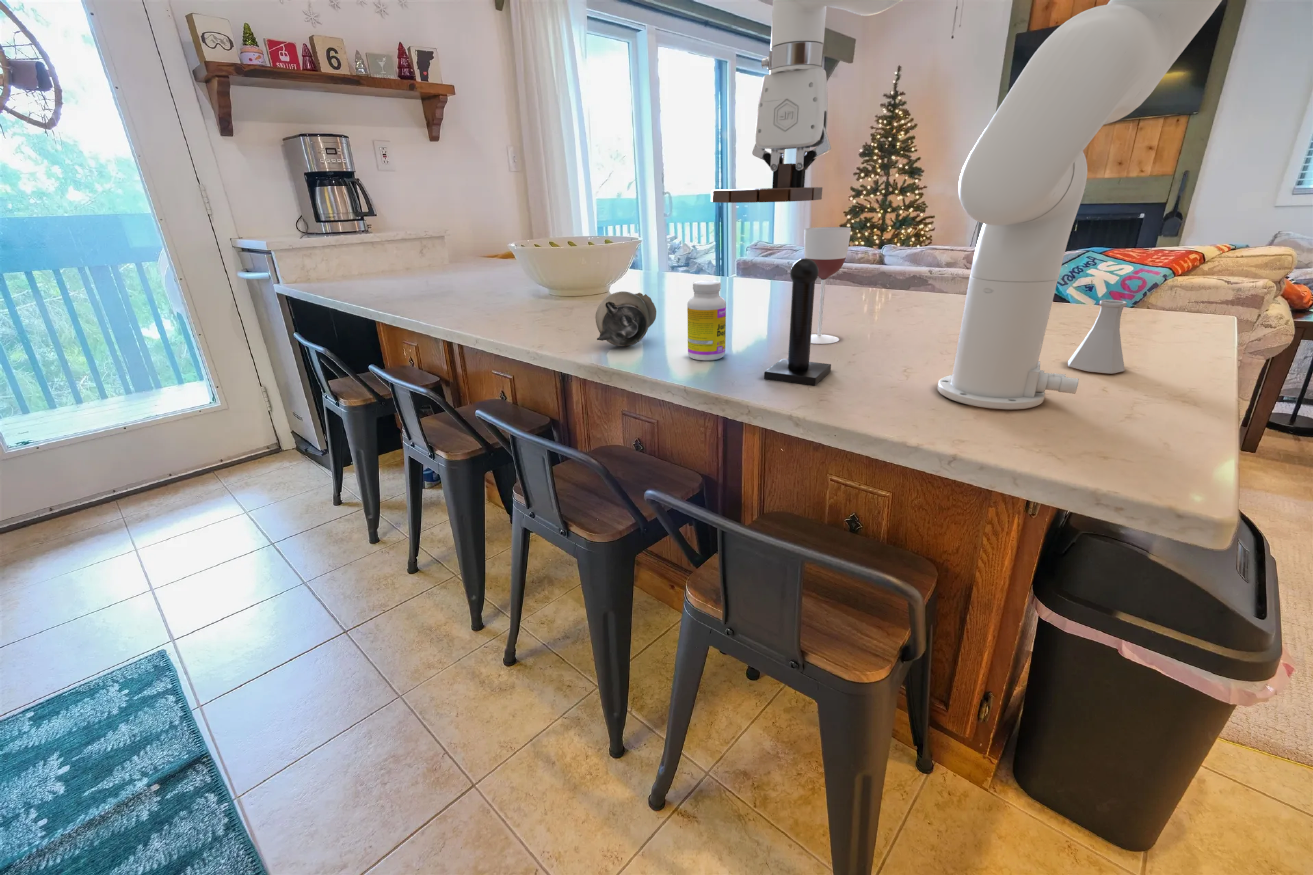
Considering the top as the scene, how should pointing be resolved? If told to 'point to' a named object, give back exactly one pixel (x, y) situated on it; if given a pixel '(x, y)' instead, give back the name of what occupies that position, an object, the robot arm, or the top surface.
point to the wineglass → (826, 262)
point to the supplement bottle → (706, 321)
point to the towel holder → (800, 331)
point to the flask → (1102, 342)
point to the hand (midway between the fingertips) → (787, 197)
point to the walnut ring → (770, 191)
